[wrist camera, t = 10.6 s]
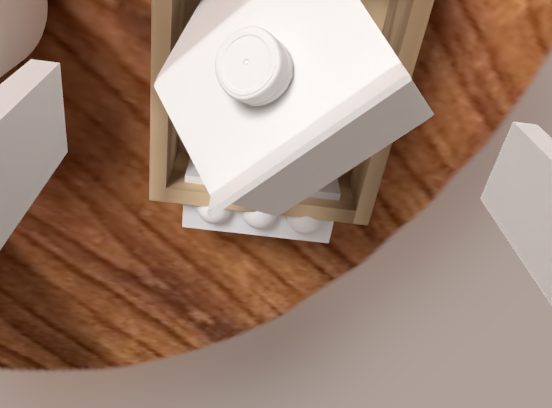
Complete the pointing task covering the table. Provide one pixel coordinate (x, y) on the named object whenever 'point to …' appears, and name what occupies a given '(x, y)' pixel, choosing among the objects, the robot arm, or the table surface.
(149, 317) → the table surface
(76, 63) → the table surface
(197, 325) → the table surface
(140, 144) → the table surface
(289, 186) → the milk carton
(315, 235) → the egg box
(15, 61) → the cup
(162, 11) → the crate
